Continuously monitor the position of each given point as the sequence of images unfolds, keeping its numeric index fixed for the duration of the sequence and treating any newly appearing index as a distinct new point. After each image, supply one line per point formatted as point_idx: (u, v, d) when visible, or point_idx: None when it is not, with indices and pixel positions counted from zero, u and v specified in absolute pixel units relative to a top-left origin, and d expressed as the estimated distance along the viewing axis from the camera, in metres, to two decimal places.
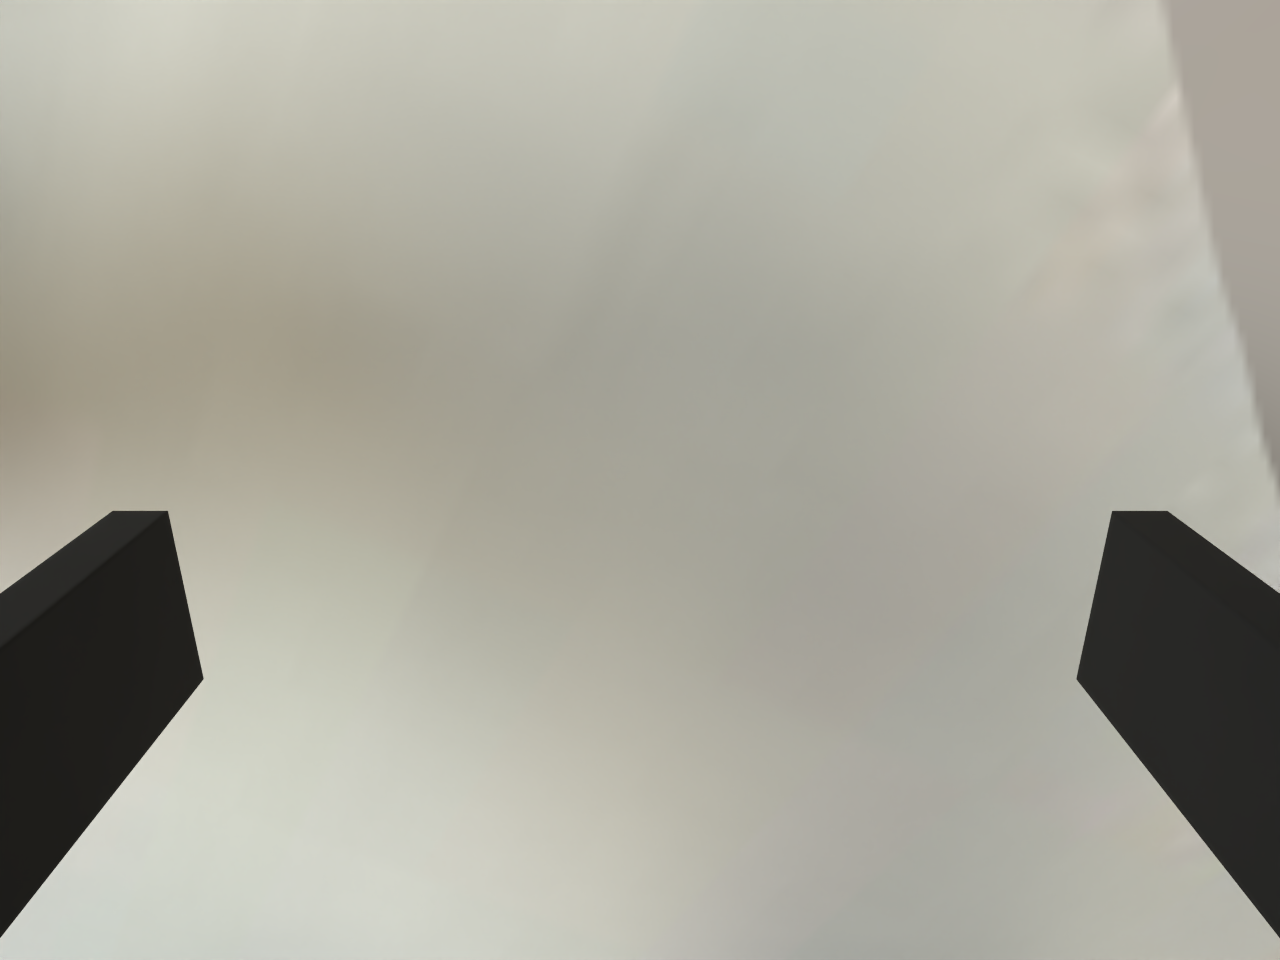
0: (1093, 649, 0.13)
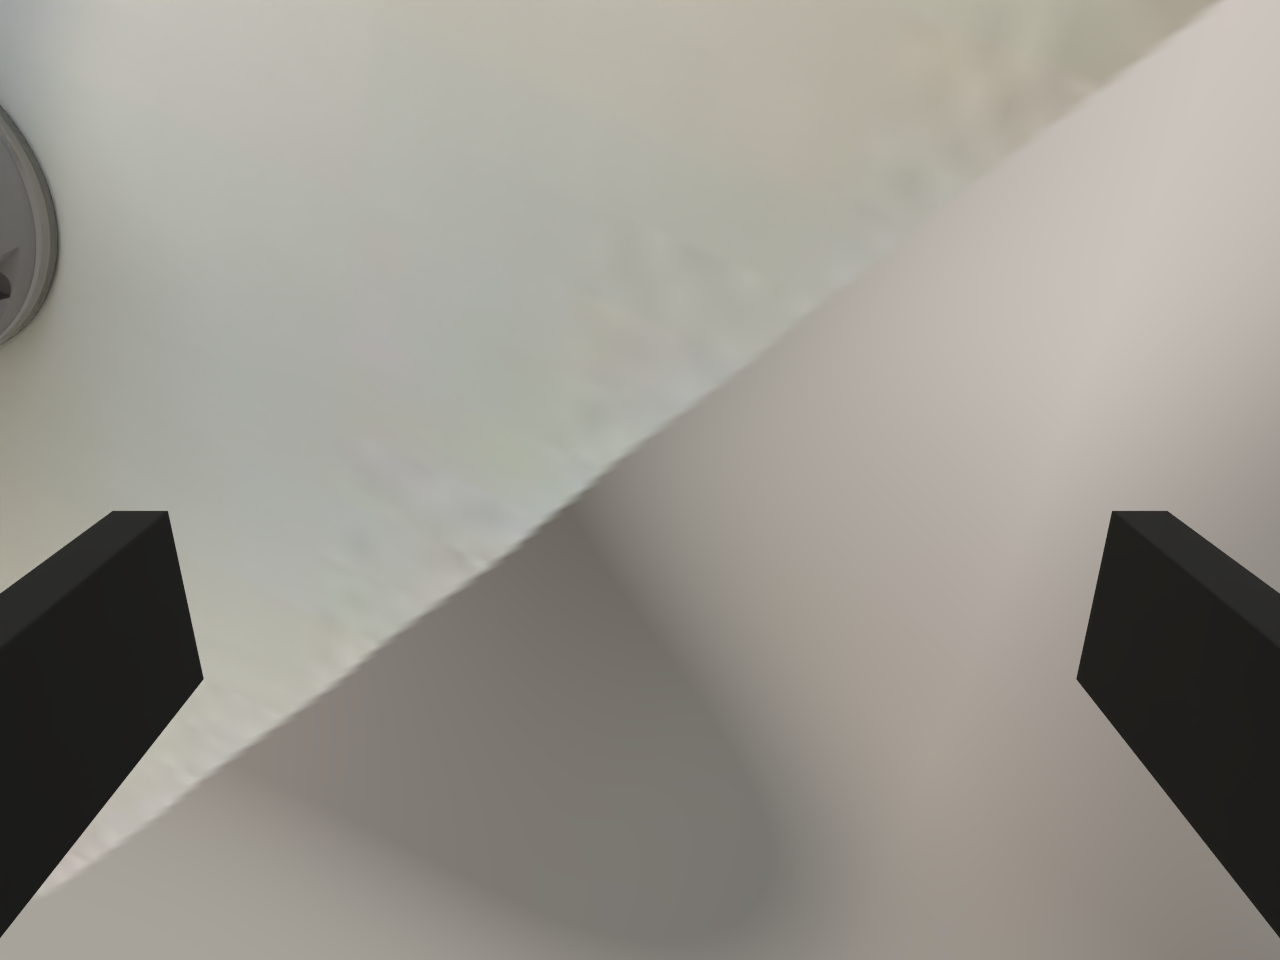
0: (1094, 648, 0.13)
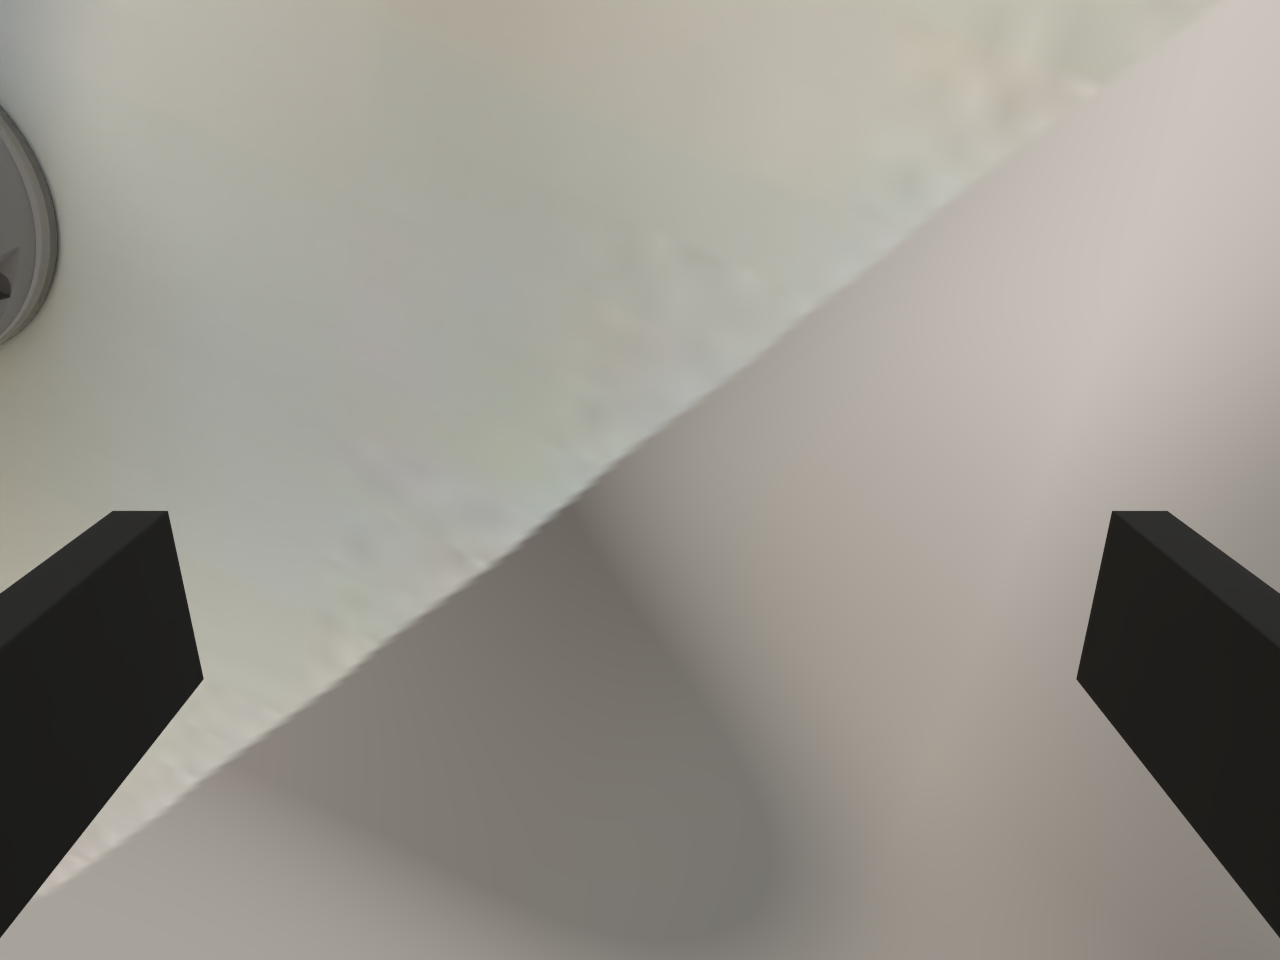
0: (1094, 648, 0.13)
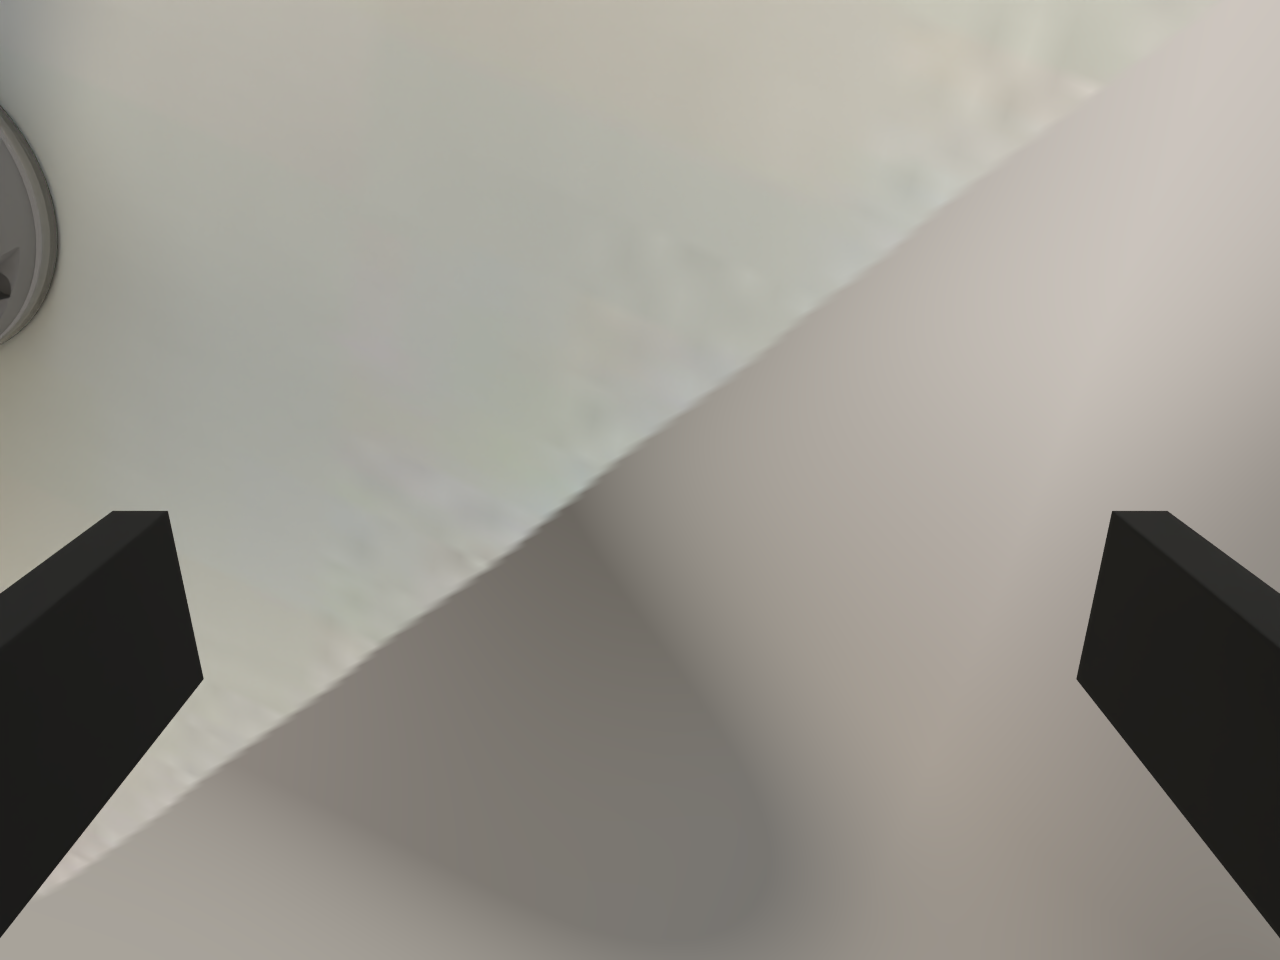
0: (1094, 648, 0.13)
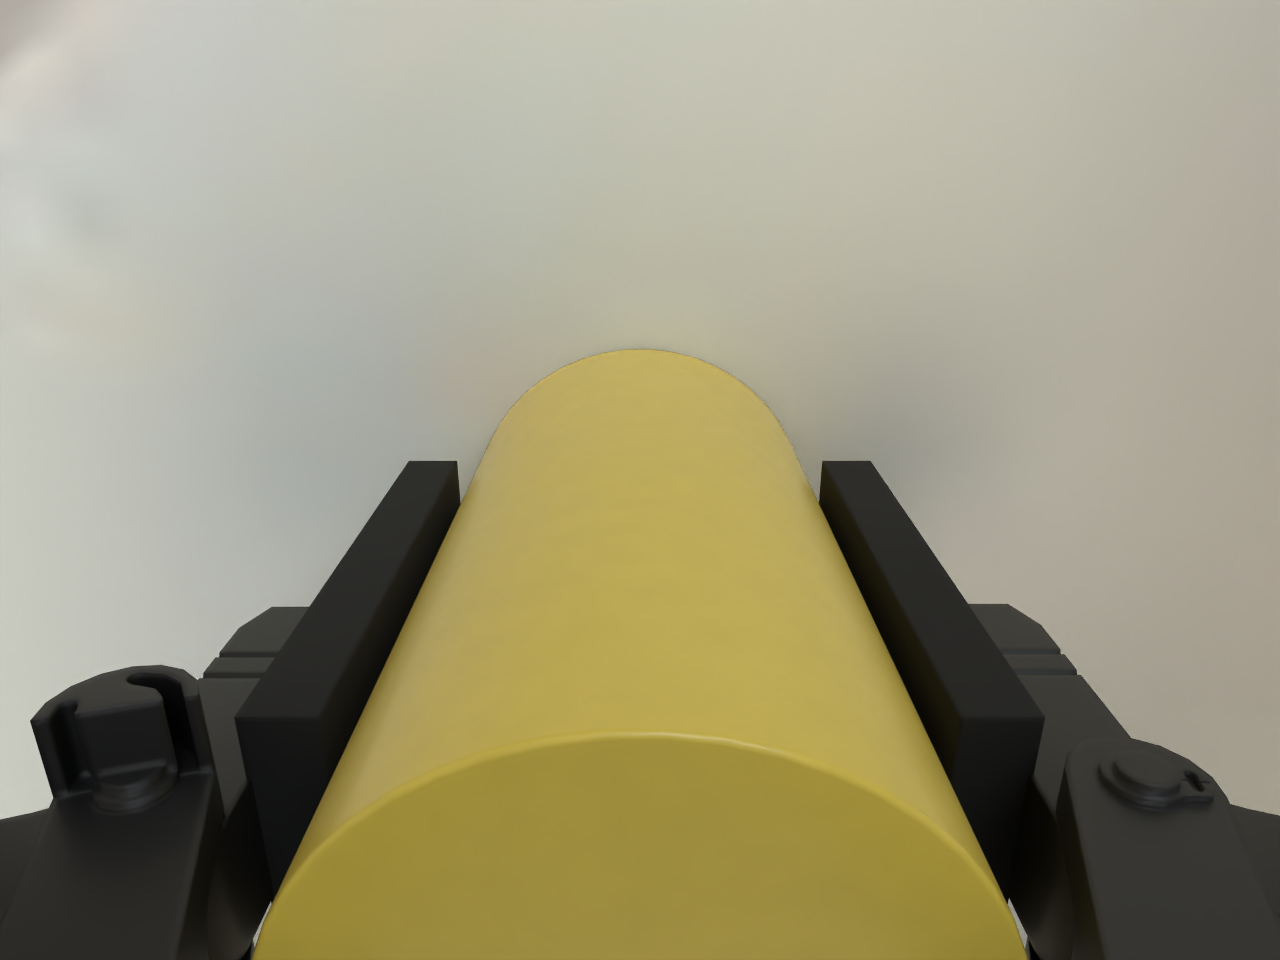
0: None
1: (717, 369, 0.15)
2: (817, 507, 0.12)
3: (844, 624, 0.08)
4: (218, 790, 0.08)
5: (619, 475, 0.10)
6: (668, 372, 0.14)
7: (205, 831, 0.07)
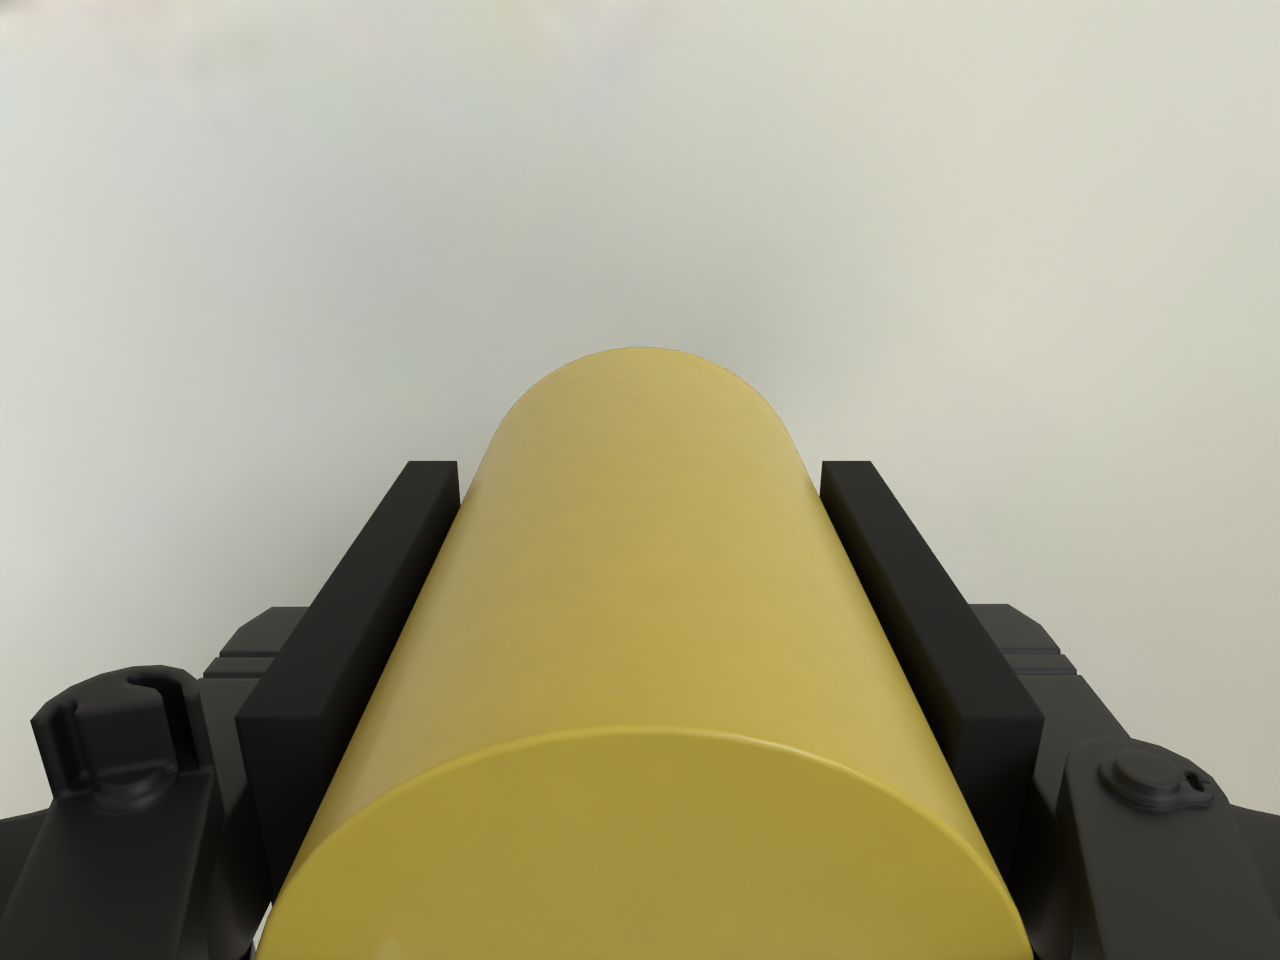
0: None
1: (719, 367, 0.15)
2: (820, 504, 0.12)
3: (848, 620, 0.08)
4: (218, 790, 0.08)
5: (623, 472, 0.09)
6: (671, 369, 0.14)
7: (205, 831, 0.07)
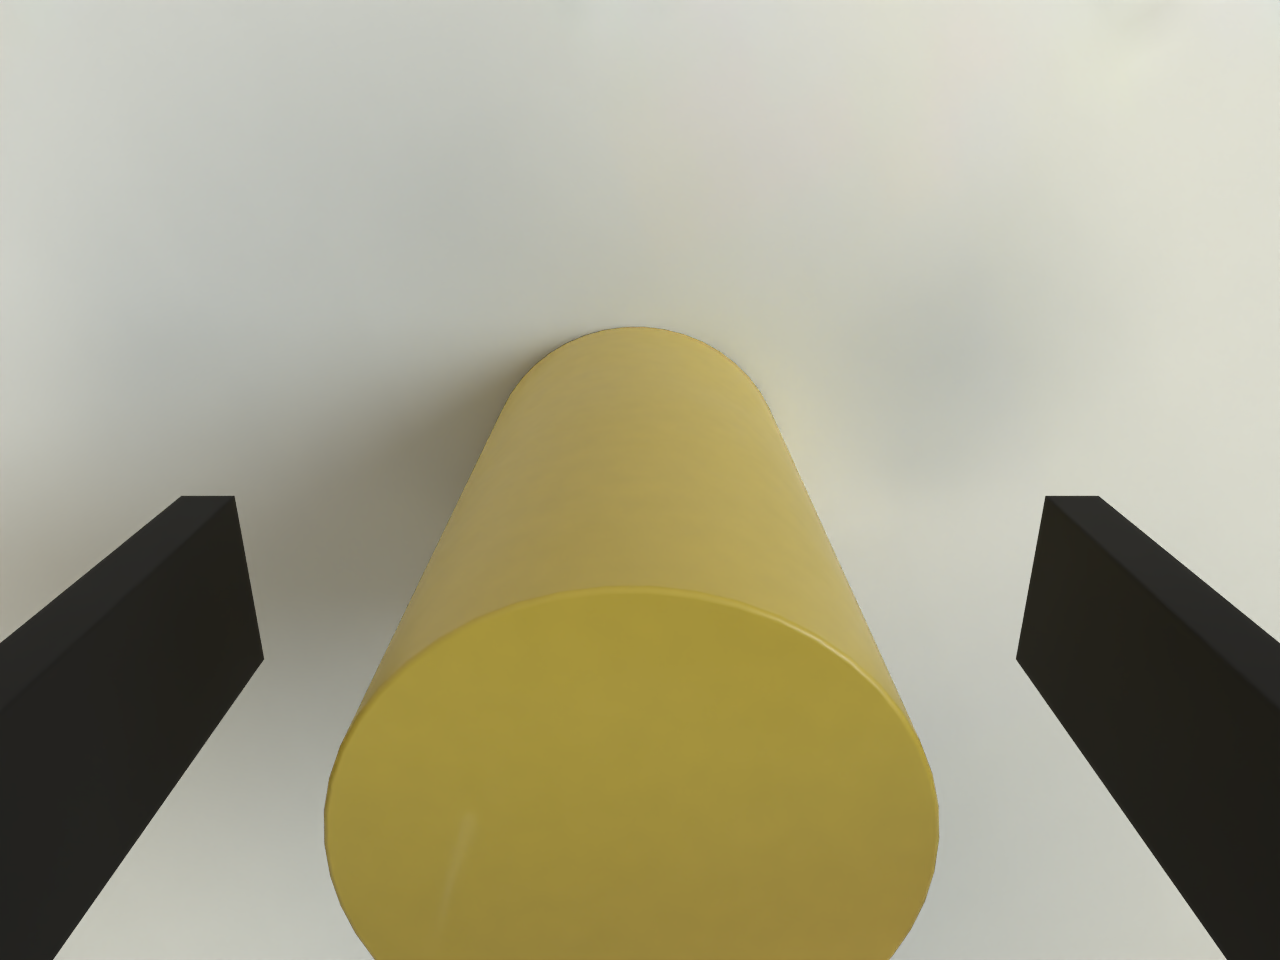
0: (1030, 629, 0.13)
1: (705, 344, 0.17)
2: (789, 459, 0.13)
3: (800, 535, 0.10)
4: None
5: (616, 422, 0.11)
6: (660, 345, 0.15)
7: None
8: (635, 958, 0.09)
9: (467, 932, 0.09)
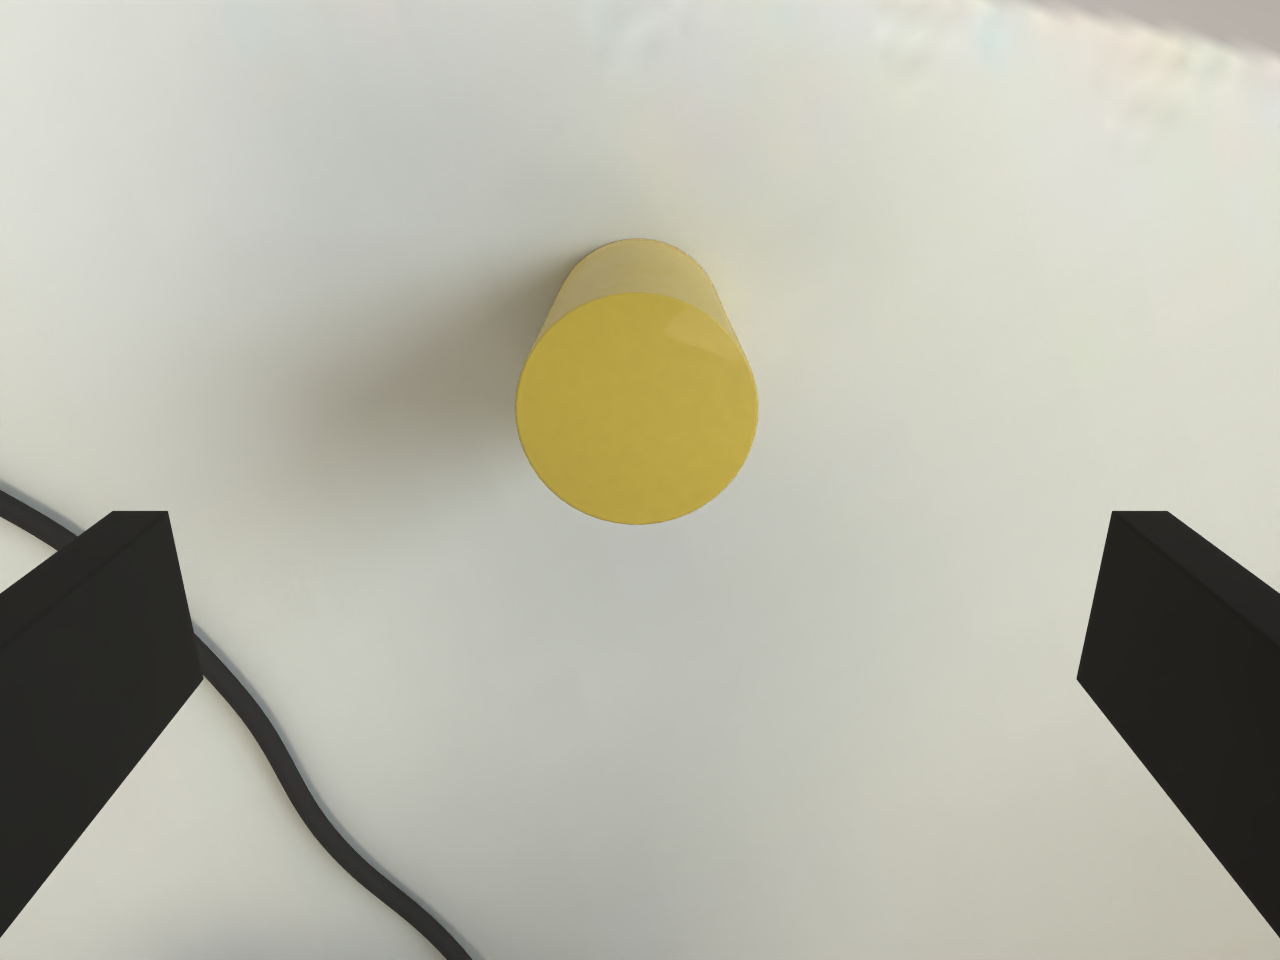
0: (1093, 649, 0.13)
1: (676, 248, 0.29)
2: (716, 296, 0.26)
3: (709, 302, 0.22)
4: None
5: (629, 264, 0.24)
6: (651, 245, 0.28)
7: None
8: (638, 464, 0.22)
9: (570, 451, 0.21)
